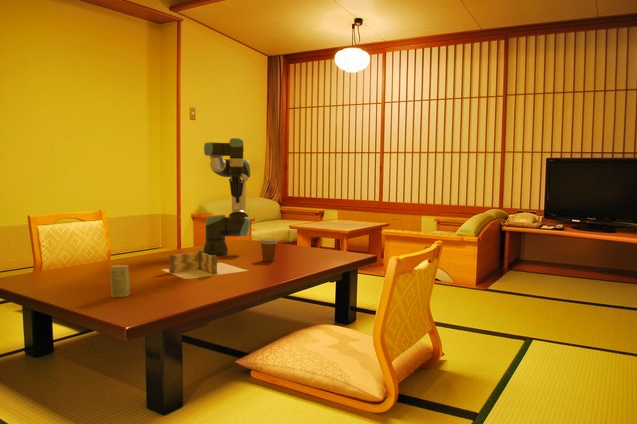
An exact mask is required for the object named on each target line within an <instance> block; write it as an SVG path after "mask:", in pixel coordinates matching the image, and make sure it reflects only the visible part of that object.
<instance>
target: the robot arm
mask: <svg viewBox="0 0 637 424" xmlns="http://www.w3.org/2000/svg"><path fill="white" fill-rule="evenodd" d="M203 148H204V149H203V150H204V151H203V152H204V156H206V157H209V160H210V164H209V165H210V169H211V171H212V172H214V174H216V175H218V176H220V177H222V178H223V177H224V178H228V181H229V187H230V194H231V195H230V196H231V212H229V215H228V217H226V215H225V214H219V215H212V216H211V215H210V216H208V217H206V218H205V243H204V245H203V247H202V248H203V249H202V250H203V253H205V254H208V255H211V256H213V255H216V256H225V255H228V254H229V248H228V245H227V242H226V237H248V235H249V233H250V227H251V226H250V225H251V217H249V215H248V214H247V212H246V211H247V209H246V208H247V205H246V199H247V198H246V197H247V191H246V190H247V189H246V187H247V182H248V181H249V179H250V178H251V165H250V161H249V160H248V159H244V152H245V151H244V150H245V149H244V139H243V138H240V137H239V138H238V137H237V138H235V137H234V138H230V139H229V142H214V141H213V142H212V141H210V142H205V143H204V144H203ZM224 157H229V158H224Z"/></svg>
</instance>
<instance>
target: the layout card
mask: <svg viewBox="0 0 637 424" xmlns="http://www.w3.org/2000/svg"><path fill="white" fill-rule="evenodd" d="M161 271H162V272H166V273H168V274H171V275H174V276H176V277H179V278H181V279H184V280H189V279H190V280H191V279H197V278H198V279H199V278H205V277H213V276H218V275H219V276H220V275H227V274H234V273H241V272H249V270H247V269H245V268H244V269H243V268H240V267H238V266H234V265H231V264H227V263H223V262H217V273H216V274H213V273H211V272H208V271H206V270H203V269H192V270H184V271H176V272H174V273H170V272H169V268H164V269H163V268H162V269H161Z"/></svg>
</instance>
